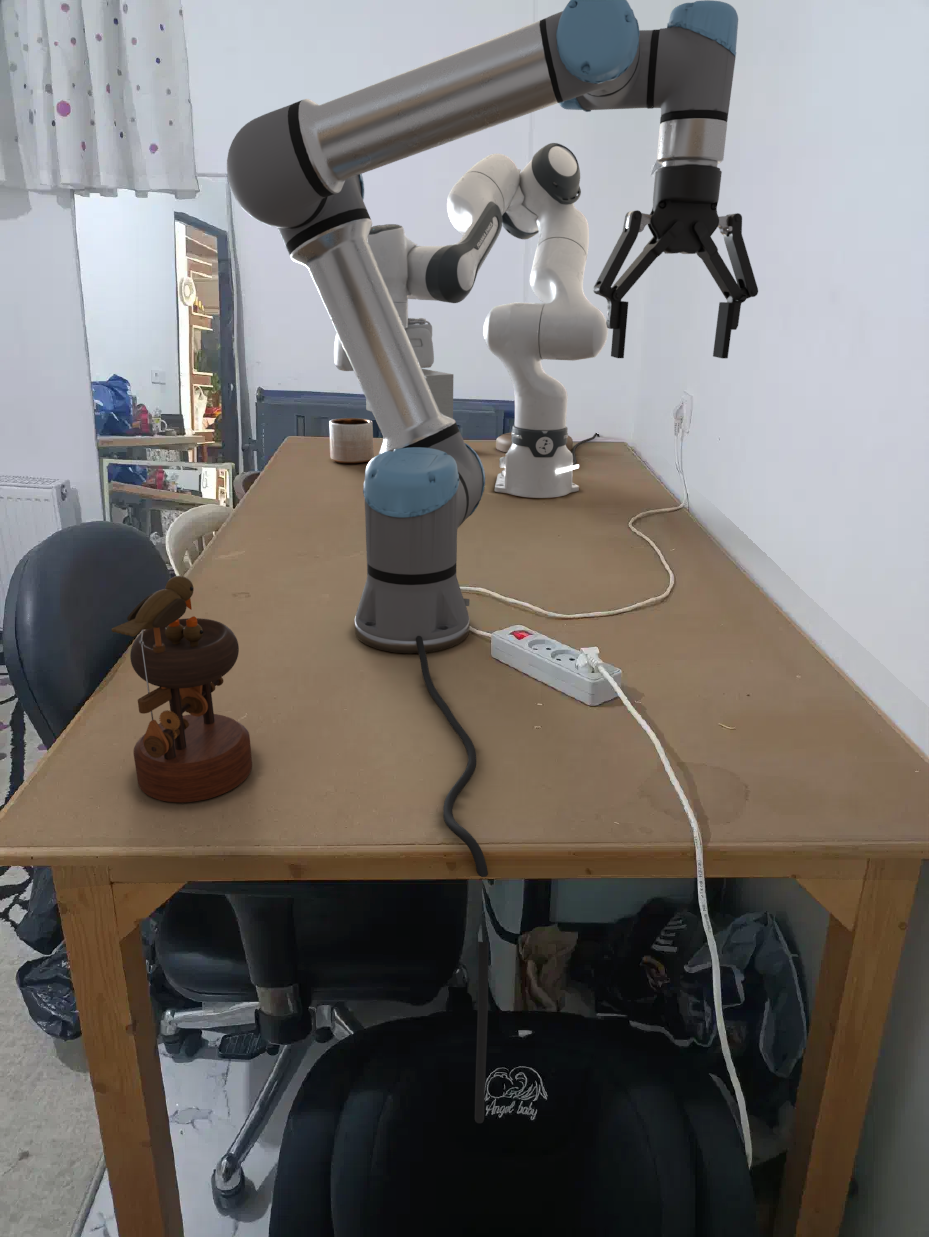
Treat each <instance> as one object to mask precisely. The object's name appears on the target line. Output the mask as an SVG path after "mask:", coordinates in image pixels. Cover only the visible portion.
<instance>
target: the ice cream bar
mask: <svg viewBox="0 0 929 1237" xmlns="http://www.w3.org/2000/svg"><path fill="white" fill-rule="evenodd" d="M511 433H512V431H510V432H506V433H502V434H500V435H498V437H496V440H495V449H497V450H498V451H501V452H503V453H508V450H509V449H510V447H511V445H512V441H511V438H512V435H511ZM566 447H567V449H568V450H569V451H570V452H571V453H572V449H573V447H574V440H573V438H572V437H571V436H570V435H568V437H567V444H566Z"/></svg>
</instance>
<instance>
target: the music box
mask: <svg viewBox="0 0 929 1237" xmlns="http://www.w3.org/2000/svg"><path fill="white" fill-rule="evenodd" d="M194 590H195V588H194V583H193V582H192V581H191V579H189V578H188V577H187V576H183V575H175V576H172V577H171V578H170V579H169V580H167V582H166V584H165V588H163V589H159V590H157V591H155V592H152V593H150V594H149V595H147V596H146V597H145V598H143V599H142V600H141V601H140V602H139V603H138V604H137V605H136V606H135V607H134V608H133V609H132V611H130V613H129V614H128V616H127V617H126V620H127V621H125V622H124V623H121V624H119V625H116V626H114V627H112V628H111V632H112V633H116V634H121V635H125V636H130V637H133V638H134V637H136V638H135V640H134V641H133V643H132V644H131V648H130V655H129V656H130V663H131V667H132V668H133V671H134V672H135V673H136V675H137V676H138V677H139V678H140V679H142V680H143V681H144V682H146V687H147V694H145V695H143V696H141V697H139V698H138V699H137V705H138V706H137V707H138V712H139V713H140V714H149V713H150V716H151V720H150V721H149V723H148V725H147V729H146V731H145V733H144V734H143V735H142V736H141V737H140V738H139V739H138V740H137V742H136V743H135V745H134V747H133V751H132V752H133V759H134V760H133V761H134V765H135V772H136V779H137V784H138V787H139V789H140V790H141V791H142V792H143V793H145V794H146V795H147V796H149V797H151V798H152V799H155V800H159V801H164V802H167V803H168V802H169V803H192V802H193V803H194V802H199V801H205V800H208V799H213V798H215V797H218V796H221V795H224V794H226V793H228V792H230V791H232V790H233V789H235V788H237V787H238V786H239V785H241V784H242V783H243V782H244V781H246V779H247V778H248V776H249V775H250V773H251V771H252V768H253V759H252V747H251V736H250V732H249V730H248V728H247V727H246V726H245V725H244V724H242V723H241V722H239V721H237V720H235V719H234V718H232V717H229V716H226V715H223V714H217V713H215V712H214V705H213V704H214V703H213V696H212V693H213V692H214V691H216V686H217V687H220V686H222V685H223V684H224V679H223V677H224V676H225V675H227V674H228V673H229V672H230V671H231V670H232V669H233V667H234V666H235V664H236V662H237V660H238V657H239V653H240V646H239V642H238V639H237V636H236V634H235V633H234V631H233V630H232V629H231V628H230V627H228V626H227V625H226V624H224V623H223V622H221V621H218V620H214V619H209V618H200V617H196V616H194V615H193V616H191V617H189V618H181V617H183V615H185V613H186V611H187V608H188V609H189V610H190V611H192V609H193V608H192V601H191V598H192V596H193V594H194ZM149 684H150V685H152V686H155V687H157V688H155V689H153V690H152V691H150V686H149ZM167 702H169V704H168V705H169V709H168V710H163V711H162V712H161V713H160V715H159V717H158V719H159V723H158V721H157V720H156V719H154V714H153V711H154V710H156V709H157V708H159V707H161V706H163V705H164V704H166V703H167ZM184 713H188V714H185V715H183V714H184Z"/></svg>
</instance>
